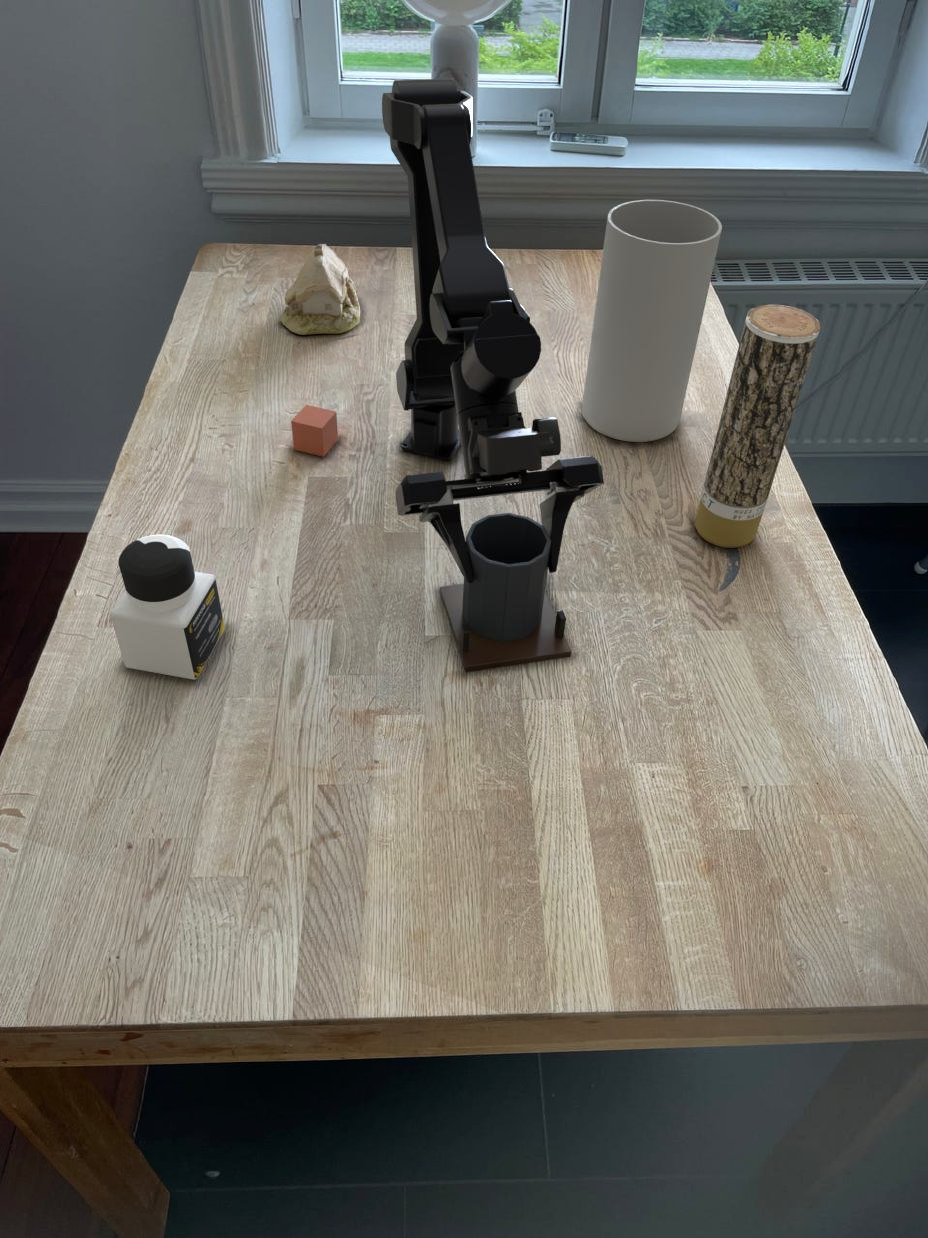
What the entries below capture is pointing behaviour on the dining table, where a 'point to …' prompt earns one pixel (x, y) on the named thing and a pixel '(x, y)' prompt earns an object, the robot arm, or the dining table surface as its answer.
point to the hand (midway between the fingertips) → (511, 577)
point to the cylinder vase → (648, 317)
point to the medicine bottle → (166, 609)
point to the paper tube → (755, 422)
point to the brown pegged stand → (496, 654)
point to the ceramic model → (322, 296)
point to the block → (314, 430)
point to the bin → (506, 576)
